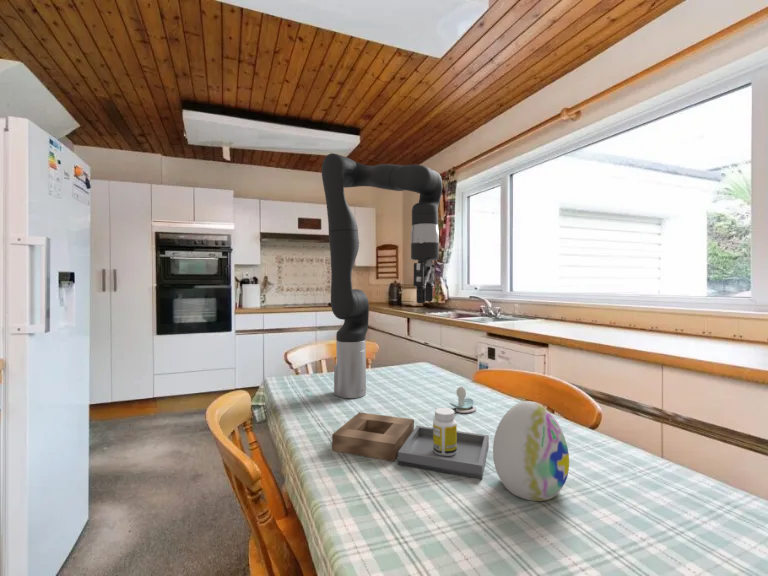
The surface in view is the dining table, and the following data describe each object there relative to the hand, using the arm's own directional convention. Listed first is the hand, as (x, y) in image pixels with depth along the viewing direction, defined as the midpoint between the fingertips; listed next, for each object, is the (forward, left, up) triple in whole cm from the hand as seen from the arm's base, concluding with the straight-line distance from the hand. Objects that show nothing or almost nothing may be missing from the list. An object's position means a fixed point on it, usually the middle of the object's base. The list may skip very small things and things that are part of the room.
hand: (425, 302), depth 101 cm
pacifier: (+10, +6, -30) cm, 32 cm away
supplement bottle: (+10, -23, -30) cm, 39 cm away
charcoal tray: (+10, -23, -30) cm, 39 cm away
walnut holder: (-6, -22, -30) cm, 38 cm away
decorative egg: (+26, -30, -30) cm, 50 cm away
